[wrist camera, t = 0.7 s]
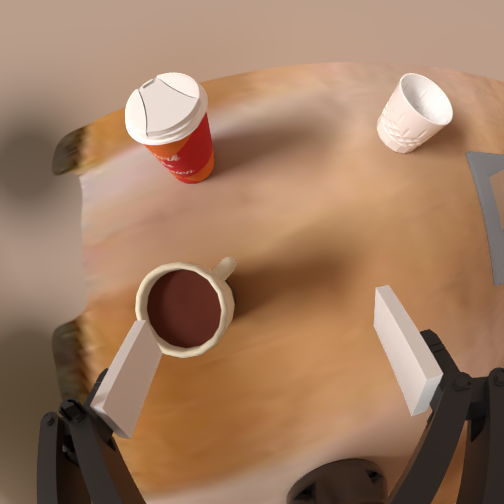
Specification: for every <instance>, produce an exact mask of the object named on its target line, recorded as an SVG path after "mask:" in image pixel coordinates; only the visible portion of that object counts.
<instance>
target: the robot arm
mask: <svg viewBox="0 0 504 504" xmlns="http://www.w3.org/2000/svg"><path fill="white" fill-rule="evenodd" d="M374 328H375V330H376V332H377V335H378V337H379V339H380V341H381V343H382V346H383V348H384V350H385V352H386V355H387V357H388V359H389V362H390V364H391V366H392V369H393V371H394V373H395V376H396V378H397V381H398V383H399V385H400V388H401V390H402V393H403V395H404V398H405V401H406V403H407V406H408V408H409V411H410V414H411V416H415V415H418V414H420V413H423V412H426V411H427V409H428V407H429V405H430V406H431V408H432V413H431V415H430V417H429V419H428V421H427V422H428V423H427V425H426V427H425V430H424V432H423V434H422V436H421V439H420V441H419V443H418V445H417V447H416V449H415V451H414V453H413V455H412V457H411V459H410V461H409V463H408V465H407V467H406V469H405V470H404V472H403V474H402V476H401V477H400V479H399V481H398V483H397V484H396V486H395V488H394V489H393V491H392V492H391V494H390V496H389V497H388V488H387V480H386V477H385V475H384V474H383V472H382V471H381V470H380V468H379V467H378V466H377V465H376V464H374V463H372V462H370V461H367V460H361V459H348V460H341V461H337V462H333V463H330V464H327V465H324V466H321V467H319V468H317V469H315V470H313V471H311V472H309V473H308V474H306V475H305V476H303V477H302V478H301V479H300V480H298V481H297V482H296V483H295V484H294V485H293V487H292V488H291V489H290V491H289V493H288V496H287V501H286V502H287V504H431V502H432V500H433V498H434V496H435V494H436V492H437V490H438V488H439V486H440V484H441V482H442V480H443V477H444V475H445V473H446V471H447V468H448V466H449V464H450V461H451V459H452V456H453V454H454V451H455V448H456V446H457V443H458V440H459V437H460V434H461V431H462V428H463V425H464V422H465V420H468V428H467V441H466V451H465V459H464V467H463V473H462V479H461V484H460V489H459V494H458V499H457V503H456V504H504V368H495V369H493V370H492V371H491V372H490V374H489V376H487V377H479V378H472V377H471V376H469V375H468V374H466V373H464V372H460V371H459V369H458V367H457V366H456V364H455V362H454V361H453V359H452V358H451V356H450V354H449V353H448V351H447V350H446V349H445V346H444V345H443V344H442V342H441V340H440V339H439V337H438V336H437V334H435V333H434V332H433V331H431V330H430V329H428V330H424V331H421V332H419V331H418V329H417V328H416V326H415V324H414V323H413V321H412V320H411V318H410V317H409V315H408V313H407V312H406V310H405V309H404V307H403V306H402V304H401V303H400V301H399V300H398V298H397V297H396V295H395V294H394V292H393V291H392V289H391V288H390V286H389V285H385V286H380V287H376V296H375V314H374ZM162 354H163V353H162V351H161V349H160V347H159V345H158V343H157V341H156V339H155V337H154V335H153V333H152V331H151V329H150V327H149V325H148V323H147V321H146V320H139V321H135V322H134V324H133V326H132V328H131V329H130V331H129V333H128V335H127V336H126V338H125V340H124V342H123V344H122V345H121V347H120V349H119V351H118V353H117V355H116V356H115V358H114V360H113V362H112V364H111V366H110V368H109V369H108V368H106V369H105V370H104V371H103V372H102V373H101V374H100V375H99V377H98V379H97V380H96V383H95V384H94V386H93V389H92V390H91V392H90V394H89V396H88V398H87V400H86V402H85V404H84V406H83V405H82V404H81V403H80V402H79V401H78V400H77V399H76V398H73V397H70V398H67V399H66V400H64V401H63V402H62V403H61V405H60V407H59V413H61V415H62V416H63V417H59V416H58V415H57V414H56V413H55V412H48V413H46V414H45V415H44V417H43V418H42V420H41V425H40V435H39V444H38V459H37V504H91V500H92V502H93V504H146V502H145V501H144V499H143V497H142V495H141V494H140V492H139V490H138V488H137V486H136V484H135V482H134V480H133V478H132V477H131V475H130V473H129V470H128V468H127V466H126V464H125V462H124V460H123V458H122V456H121V453H120V451H119V449H118V446H117V444H116V442H115V439H114V438H113V437H112V433H113V431H114V432H115V433H116V434H117V435H118V436H119V437H122V438H128V439H131V438H132V435H133V432H134V429H135V426H136V424H137V421H138V418H139V415H140V412H141V409H142V407H143V404H144V401H145V398H146V396H147V393H148V390H149V388H150V385H151V382H152V380H153V377H154V374H155V372H156V369H157V366H158V364H159V361H160V359H161V356H162ZM63 447H64V451H63V450H62V449H63ZM90 497H91V498H90Z"/></svg>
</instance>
